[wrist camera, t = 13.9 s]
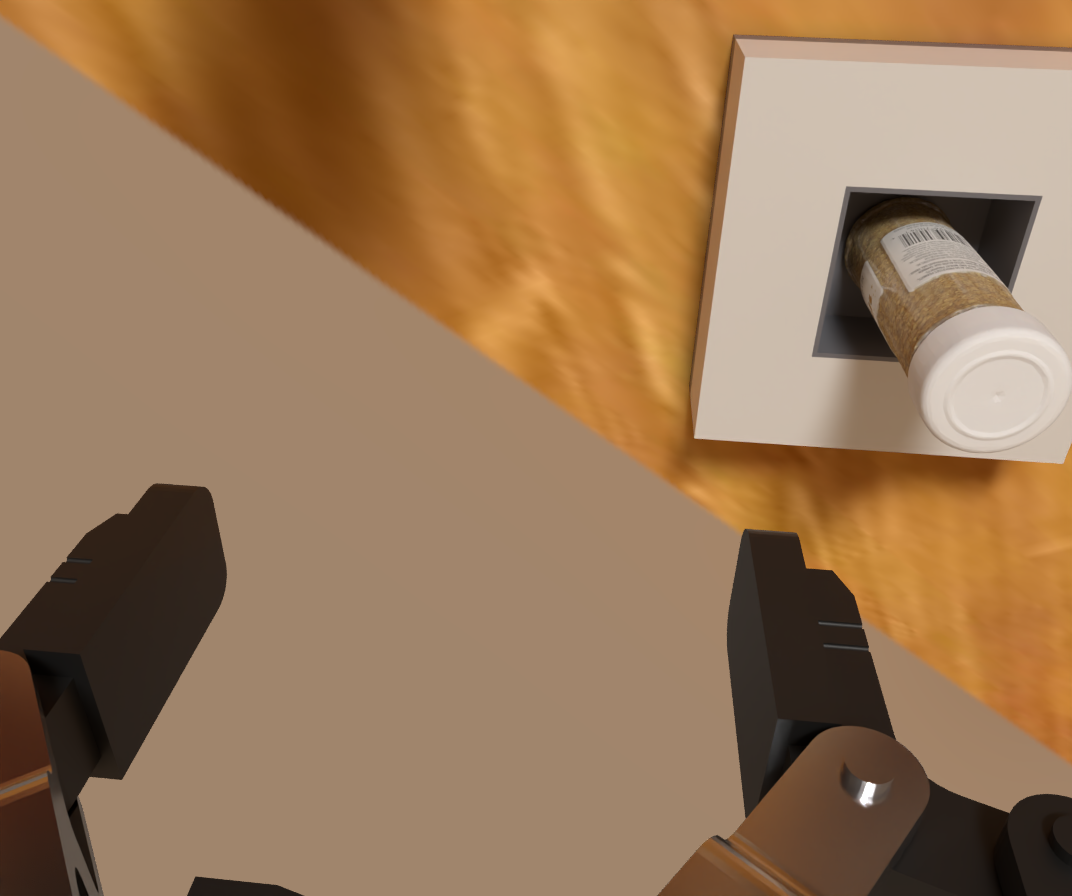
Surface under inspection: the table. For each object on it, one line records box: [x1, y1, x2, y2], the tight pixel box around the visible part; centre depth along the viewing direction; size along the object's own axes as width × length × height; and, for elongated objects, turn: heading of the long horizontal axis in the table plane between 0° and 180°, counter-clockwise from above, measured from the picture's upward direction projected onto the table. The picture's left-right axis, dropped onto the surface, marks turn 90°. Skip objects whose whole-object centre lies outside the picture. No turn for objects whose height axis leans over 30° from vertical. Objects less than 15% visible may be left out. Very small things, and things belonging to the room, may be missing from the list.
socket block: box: [689, 35, 1072, 464], centre depth 39 cm, size 16×16×5 cm
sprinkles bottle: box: [844, 197, 1072, 453], centre depth 35 cm, size 5×5×14 cm
